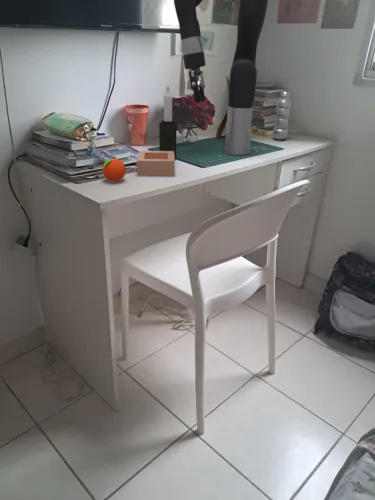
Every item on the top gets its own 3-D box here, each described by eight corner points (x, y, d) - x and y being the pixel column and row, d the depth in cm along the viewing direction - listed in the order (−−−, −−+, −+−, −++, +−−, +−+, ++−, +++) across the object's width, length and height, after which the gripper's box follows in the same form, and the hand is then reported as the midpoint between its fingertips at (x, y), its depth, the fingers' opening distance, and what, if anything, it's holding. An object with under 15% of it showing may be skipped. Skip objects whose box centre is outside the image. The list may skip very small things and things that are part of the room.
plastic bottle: (288, 139, 179) (295, 91, 170) (283, 142, 174) (290, 93, 165) (275, 137, 182) (281, 90, 173) (269, 139, 177) (275, 91, 168)
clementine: (112, 186, 119) (110, 163, 116) (96, 181, 123) (94, 159, 119) (130, 180, 125) (129, 157, 121) (115, 175, 128) (113, 153, 125)
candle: (169, 160, 144) (170, 86, 132) (158, 158, 147) (157, 85, 135) (177, 157, 148) (178, 85, 136) (166, 155, 151) (166, 84, 139)
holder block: (173, 165, 140) (173, 151, 137) (174, 176, 129) (174, 161, 127) (139, 165, 139) (138, 150, 137) (137, 176, 128) (136, 160, 126)
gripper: (200, 49, 132) (207, 101, 138) (206, 52, 145) (213, 99, 151) (178, 53, 134) (186, 104, 140) (187, 56, 147) (193, 102, 152)
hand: (200, 101), depth 145 cm, fingers open, 8 cm apart
